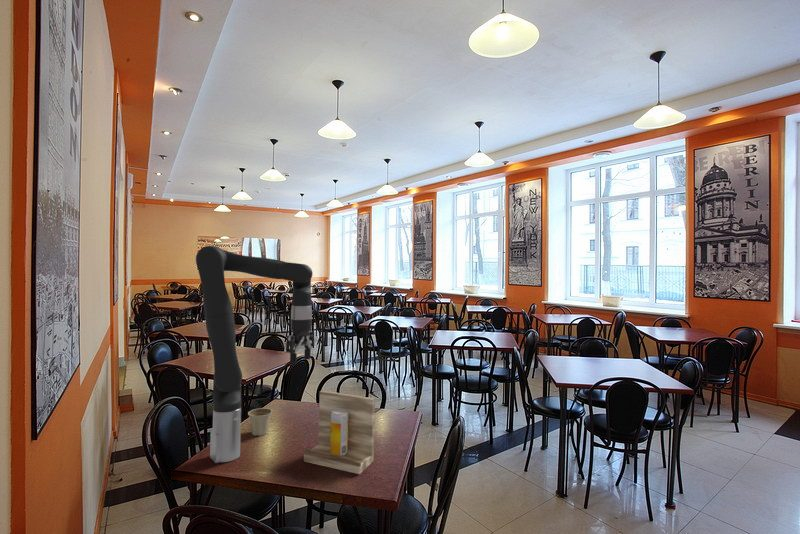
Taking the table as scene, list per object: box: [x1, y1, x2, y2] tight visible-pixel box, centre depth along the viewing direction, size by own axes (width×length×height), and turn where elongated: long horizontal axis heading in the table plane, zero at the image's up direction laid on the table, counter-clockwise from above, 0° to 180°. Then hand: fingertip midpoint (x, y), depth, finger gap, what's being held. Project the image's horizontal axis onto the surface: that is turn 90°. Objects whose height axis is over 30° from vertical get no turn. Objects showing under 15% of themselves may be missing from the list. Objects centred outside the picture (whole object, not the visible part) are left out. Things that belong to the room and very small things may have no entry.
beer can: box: [330, 409, 348, 457], centre depth 144 cm, size 6×6×15 cm
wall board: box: [303, 390, 376, 475], centre depth 144 cm, size 11×22×22 cm, turn 68°
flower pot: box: [247, 407, 273, 437], centre depth 167 cm, size 9×9×9 cm
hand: (300, 361), depth 152 cm, fingers open, 8 cm apart
